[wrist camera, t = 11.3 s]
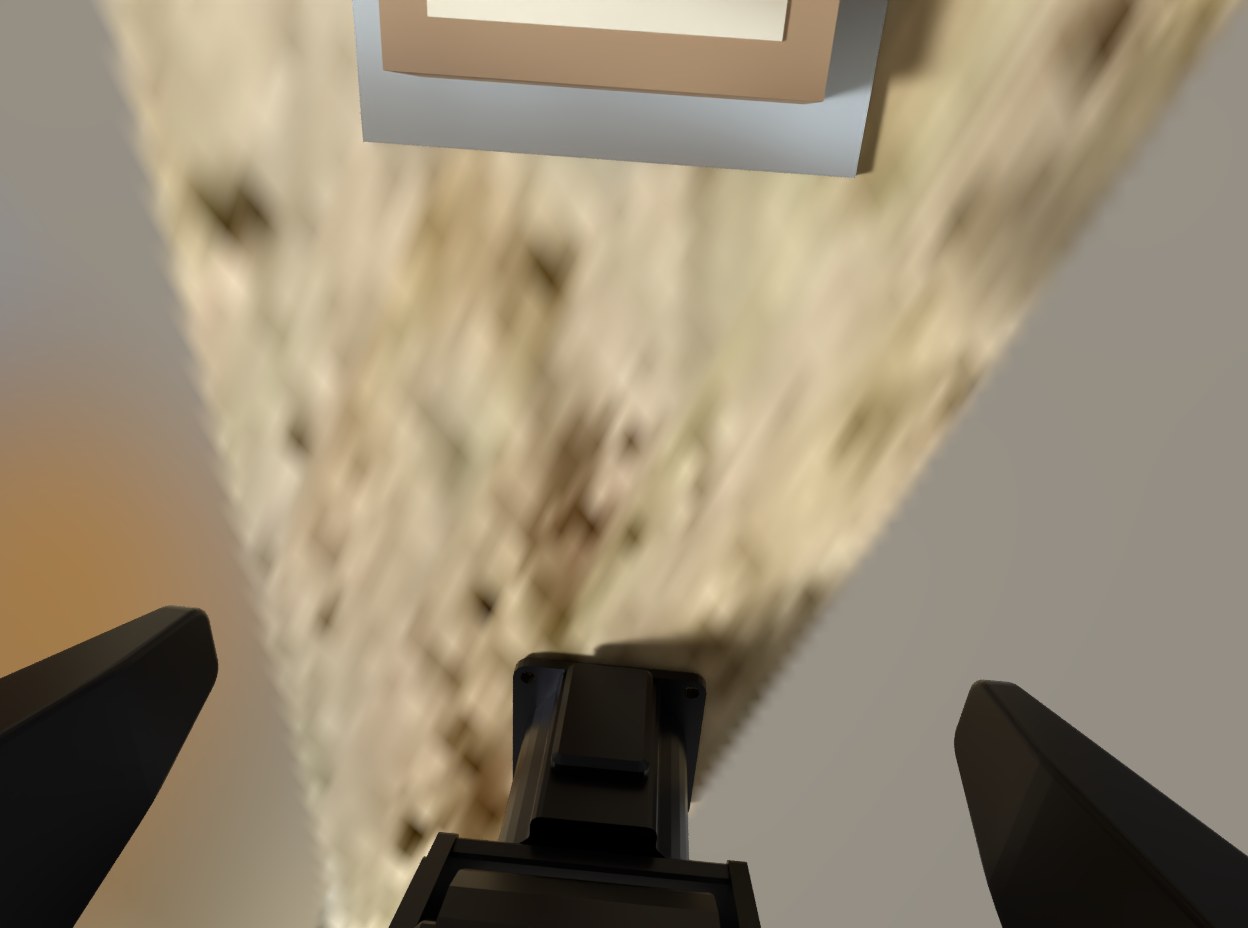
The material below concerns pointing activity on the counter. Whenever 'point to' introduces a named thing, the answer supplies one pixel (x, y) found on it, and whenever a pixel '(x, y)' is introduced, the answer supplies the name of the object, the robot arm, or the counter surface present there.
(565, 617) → the counter surface
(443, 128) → the tiered square riser
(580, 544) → the counter surface
